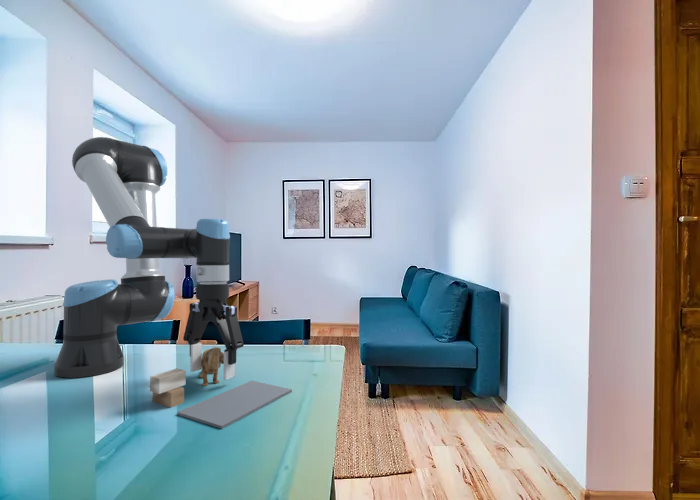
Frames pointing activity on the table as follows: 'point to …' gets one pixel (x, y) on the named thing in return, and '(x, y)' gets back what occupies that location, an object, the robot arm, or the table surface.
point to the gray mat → (234, 404)
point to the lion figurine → (211, 364)
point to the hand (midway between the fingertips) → (212, 373)
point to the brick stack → (168, 387)
